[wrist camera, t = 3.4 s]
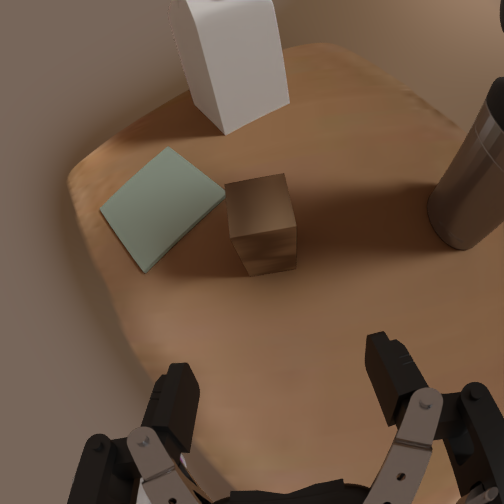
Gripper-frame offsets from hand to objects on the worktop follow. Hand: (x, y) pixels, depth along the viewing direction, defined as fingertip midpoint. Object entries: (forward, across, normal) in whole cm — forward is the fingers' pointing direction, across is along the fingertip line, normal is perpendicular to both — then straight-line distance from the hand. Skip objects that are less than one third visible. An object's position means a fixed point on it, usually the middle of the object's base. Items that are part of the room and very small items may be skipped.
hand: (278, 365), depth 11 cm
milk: (+39, 0, -16) cm, 42 cm away
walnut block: (+20, 0, +3) cm, 20 cm away
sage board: (+27, +14, -4) cm, 30 cm away
